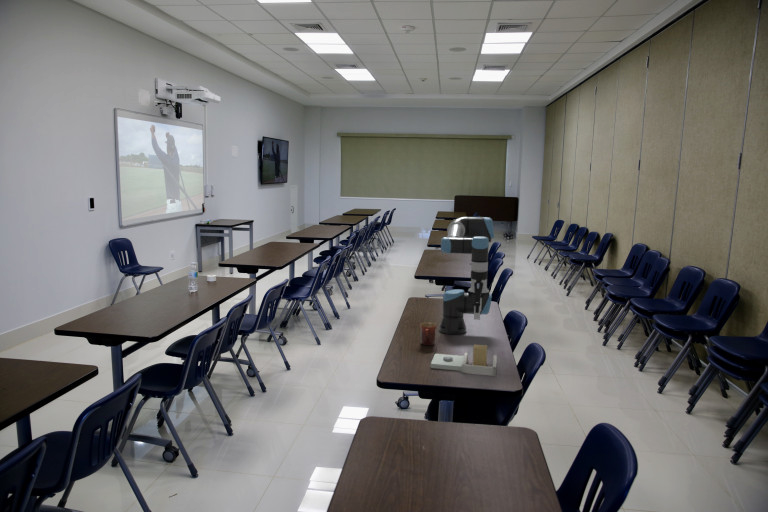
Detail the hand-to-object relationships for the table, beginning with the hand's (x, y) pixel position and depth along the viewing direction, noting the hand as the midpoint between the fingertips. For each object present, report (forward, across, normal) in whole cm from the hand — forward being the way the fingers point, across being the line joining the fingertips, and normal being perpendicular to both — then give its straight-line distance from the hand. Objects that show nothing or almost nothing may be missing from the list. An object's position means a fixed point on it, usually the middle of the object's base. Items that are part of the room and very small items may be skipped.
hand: (477, 315), depth 234 cm
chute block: (+22, +6, +2) cm, 23 cm away
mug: (+23, -18, -26) cm, 39 cm away
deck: (+22, +8, -5) cm, 24 cm away
